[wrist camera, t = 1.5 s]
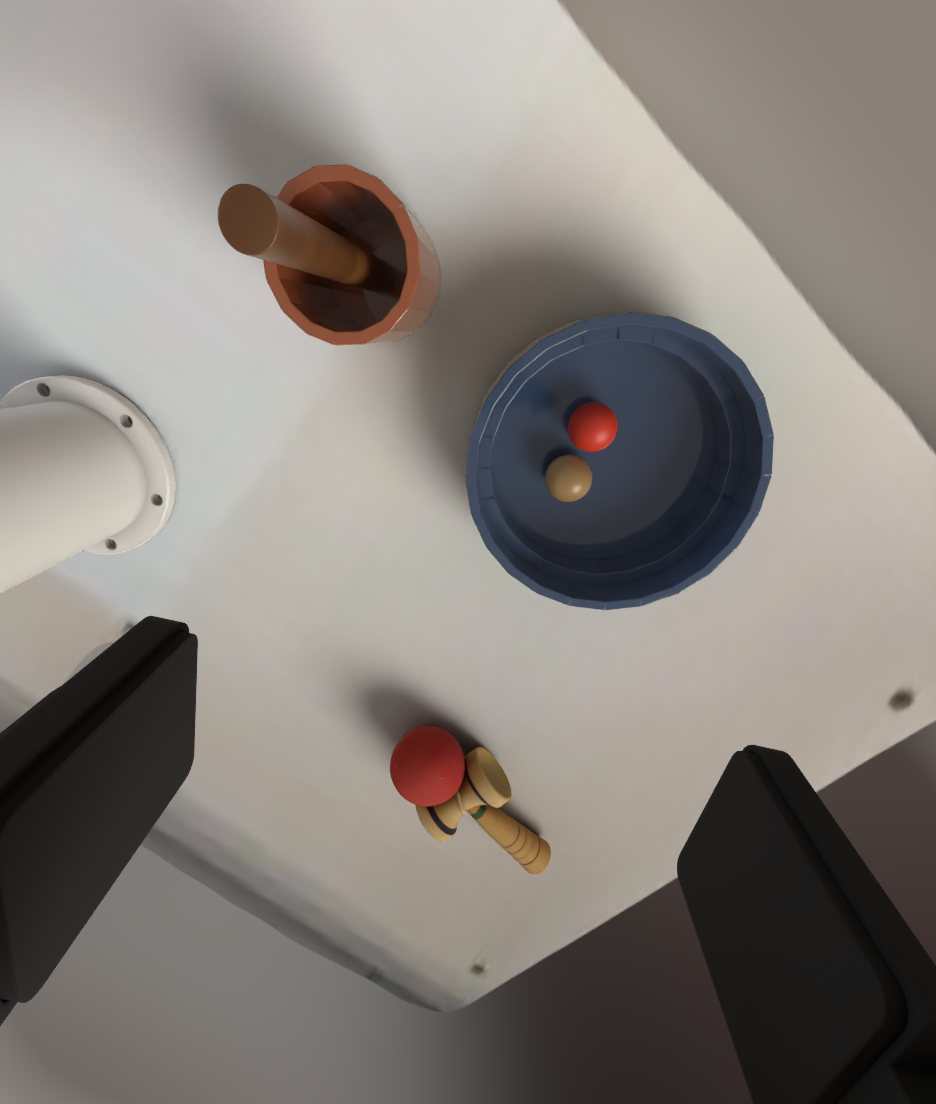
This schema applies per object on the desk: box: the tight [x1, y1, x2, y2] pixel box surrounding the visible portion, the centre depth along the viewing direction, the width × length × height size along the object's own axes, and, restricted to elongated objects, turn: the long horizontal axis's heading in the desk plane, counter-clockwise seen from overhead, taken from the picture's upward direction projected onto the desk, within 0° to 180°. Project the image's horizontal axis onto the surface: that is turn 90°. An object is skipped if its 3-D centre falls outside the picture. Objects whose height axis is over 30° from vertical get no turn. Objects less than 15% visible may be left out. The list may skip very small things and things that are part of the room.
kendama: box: [390, 726, 551, 874], centre depth 45 cm, size 8×6×18 cm
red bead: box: [568, 402, 618, 452], centre depth 33 cm, size 3×3×3 cm
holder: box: [263, 164, 441, 345], centre depth 29 cm, size 7×7×9 cm
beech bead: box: [545, 455, 592, 502], centre depth 35 cm, size 3×3×3 cm
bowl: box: [465, 312, 774, 610], centre depth 34 cm, size 17×17×6 cm
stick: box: [218, 184, 394, 293], centre depth 24 cm, size 2×2×18 cm
